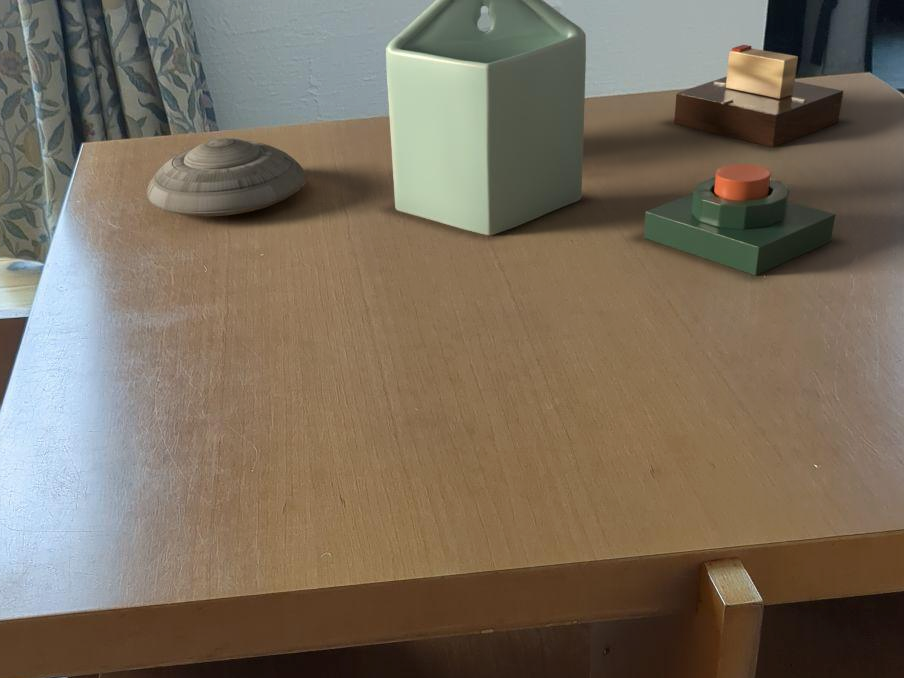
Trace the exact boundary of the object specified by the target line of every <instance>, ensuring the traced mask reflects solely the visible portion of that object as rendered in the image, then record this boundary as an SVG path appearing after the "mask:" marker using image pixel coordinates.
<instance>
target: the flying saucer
mask: <svg viewBox="0 0 904 678" xmlns="http://www.w3.org/2000/svg"><path fill="white" fill-rule="evenodd" d="M307 177H308V176H307V172H306V171H305V169H304V168H303V167H302V166H301V164H300V163H299V162H298V161H297V160H296V159H295V158H293V157H292V156H291V155H289V154H288V153H287V152H285V151H283V150H281V149H279V148H277V147H275V146H271V145H269V144H266V143H262V142H258V141H250V140H243V139H239V138H227V137H226V138H215V139H211V140H208V141H205V142H203V143H201V144H198V145H197V146H195V147H191V148H189V149H186V150H184V151H182V152H180V153H178V154H176V155H175V156H173V157H172V158H171V159H169V160H168V161H167V162H165V163H163V165H162V166H161V167H160V168H159V169H158V170H157V171H156V173H155V174H154V176H152V179H151V180H150V182H149V184H148V187H147V188H146V192H145V194H146V195H145V197H146V200H147V201H148V202H149V203H151V205H153V206H154V207H156V208H158V209H160V210H162V211H165V212H168V213H172V214H176V215H181V216H188V217H189V216H191V217H221V216H222V217H223V216H231V215H240V214H244V213H248V212H254V211H258V210H261V209H265V208H267V207H270V206H273V205H276V204H278V203H280V202H282V201H283V202H284V201H285V200H286V199H288V198H290V197H291V196H293V195H294V194H296V193H298V191H300V190H301V189H302V187H303V186H304V185H305V184H306V182H307V180H308V179H307Z"/></svg>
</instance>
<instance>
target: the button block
mask: <svg viewBox="0 0 904 678" xmlns="http://www.w3.org/2000/svg"><path fill="white" fill-rule="evenodd" d="M715 178H716V176H714V177H712V178H709V179H706V180H703V181H700V182H698V183H697V184H696V185H695V188H694V190H693V192H692V193H690V194H687V195H684V196H681V197H679V198H677V199H674V200H672V201H668V202H667V203H664V204H661V205H658V206H656V207H653V208H650V209H648V210H646V211H645V213H644V214H645V215H644V226H643V227H644V228H643V239H646V240H648V241H652V242H655V243H658V244H661V245H664V246H667V247H669V248H673V249H676V250H678V251H680V252H681V251H682V252H684V253H688V254H689V255H694V256H697V257H698V258H699V257H700V258H702V259H705V260H708V261H712V262H714V263H717V264H720V265H723V266H727V267H728V268H732V269H735V270H737V271H741V272H743V273H747V274H749V275H753V276H758V275H760V274H762V273H765V272H766V271H769V270H771V269H774V268H775V267H778V266H780V265H782V264H784V263H787V262H789V261H791V260H793V259H795V258H798V257H800V256H802V255H804V254H807V253H808V252H811V251H813V250H815V249H818V248H820V247H822V246H825V245H827V244H829V243H831V242H832V238H833V232H834V227H835V219H836V213H833V212H829V211H825V210H822V209H818V208H816V207H815V208H814V207H811V206H807V205H803V204H800V203H797V202H792V201H789V196H790V188H789V187H788V186H786V184H784V183H782V182H781V181H780V180H776V179H773V178H770V184H769V191H768V196H767V197H765V198H762V199H757V200H748V201H740V200H727V199H723V198H720V197H716V196H715V195H714V188H715Z"/></svg>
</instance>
